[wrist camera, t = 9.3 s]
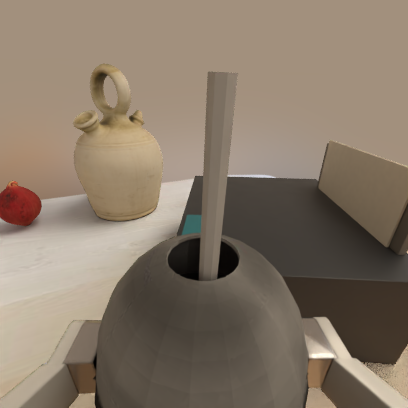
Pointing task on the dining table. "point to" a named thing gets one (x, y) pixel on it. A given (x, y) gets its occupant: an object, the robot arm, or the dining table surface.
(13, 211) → the red pomegranate
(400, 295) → the printer
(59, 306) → the dining table surface
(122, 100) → the jug
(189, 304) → the beverage cup
